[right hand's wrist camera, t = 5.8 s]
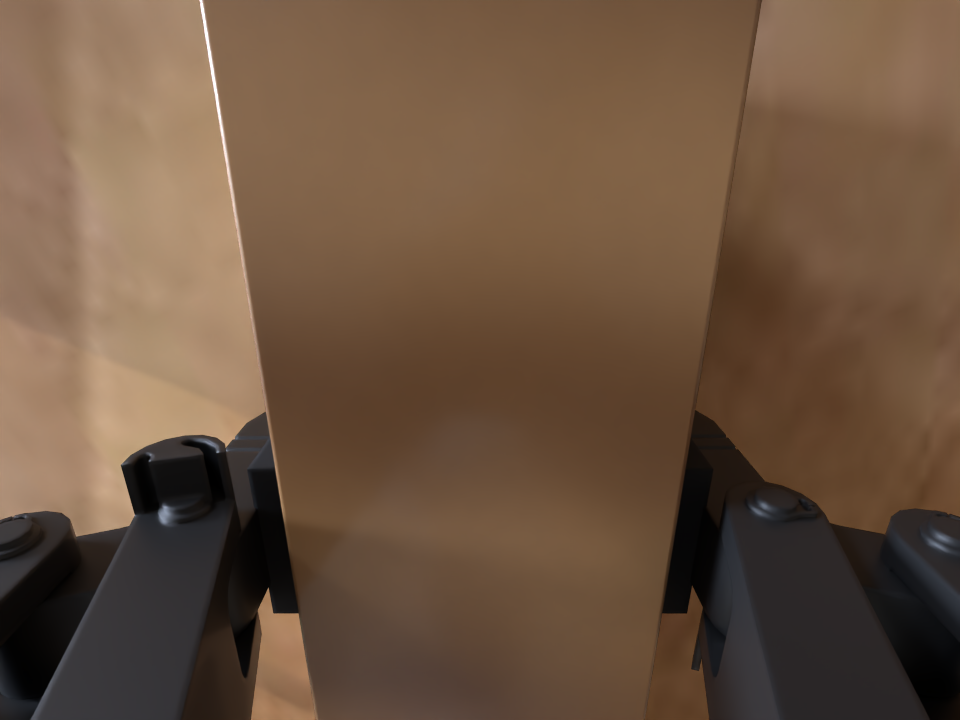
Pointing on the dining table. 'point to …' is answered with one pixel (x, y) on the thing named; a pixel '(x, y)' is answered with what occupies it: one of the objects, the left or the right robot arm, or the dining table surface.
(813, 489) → the dining table surface
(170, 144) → the dining table surface
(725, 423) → the dining table surface
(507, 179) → the post
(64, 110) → the dining table surface
